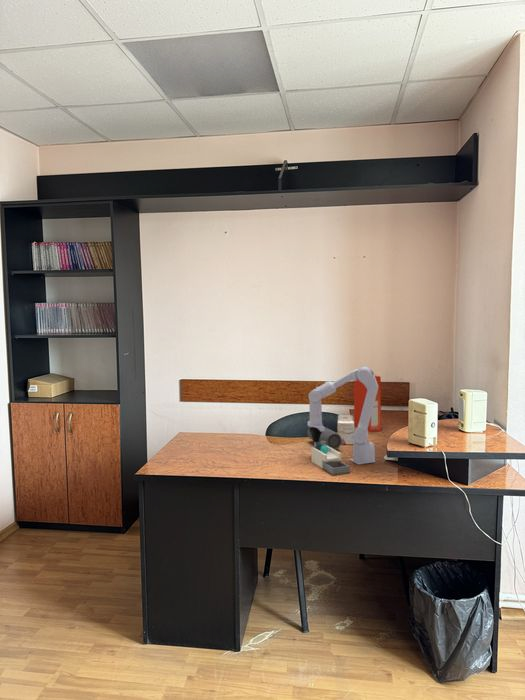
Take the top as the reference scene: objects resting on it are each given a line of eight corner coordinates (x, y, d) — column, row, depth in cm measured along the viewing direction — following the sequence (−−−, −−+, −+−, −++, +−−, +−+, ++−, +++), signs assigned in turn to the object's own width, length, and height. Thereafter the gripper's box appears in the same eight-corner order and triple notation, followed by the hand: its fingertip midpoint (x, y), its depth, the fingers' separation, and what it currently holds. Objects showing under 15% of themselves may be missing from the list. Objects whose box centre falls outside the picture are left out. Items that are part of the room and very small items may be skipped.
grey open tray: (340, 467, 215) (340, 460, 215) (349, 473, 207) (349, 466, 207) (323, 469, 212) (323, 463, 212) (332, 475, 205) (332, 468, 205)
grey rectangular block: (324, 448, 226) (324, 440, 226) (326, 449, 225) (326, 441, 224) (314, 450, 225) (314, 441, 224) (316, 451, 223) (315, 442, 222)
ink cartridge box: (337, 444, 252) (337, 417, 251) (337, 442, 257) (337, 415, 256) (354, 444, 251) (354, 417, 250) (353, 442, 256) (353, 415, 255)
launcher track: (326, 459, 227) (326, 445, 227) (341, 468, 214) (341, 453, 214) (311, 461, 225) (311, 447, 224) (325, 470, 211) (325, 455, 211)
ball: (326, 451, 223) (326, 444, 222) (329, 453, 219) (329, 446, 219) (319, 452, 221) (319, 444, 221) (322, 454, 218) (322, 446, 218)
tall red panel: (368, 432, 277) (368, 377, 274) (353, 425, 293) (353, 373, 291) (381, 431, 279) (380, 376, 277) (365, 424, 296) (365, 373, 293)
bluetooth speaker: (306, 442, 259) (305, 423, 258) (321, 440, 262) (321, 422, 262) (326, 453, 238) (326, 433, 237) (342, 451, 241) (342, 431, 240)
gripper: (301, 412, 233) (302, 440, 234) (314, 418, 219) (315, 447, 220) (314, 411, 235) (315, 438, 236) (328, 417, 222) (328, 446, 223)
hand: (316, 442), depth 229 cm, fingers closed
